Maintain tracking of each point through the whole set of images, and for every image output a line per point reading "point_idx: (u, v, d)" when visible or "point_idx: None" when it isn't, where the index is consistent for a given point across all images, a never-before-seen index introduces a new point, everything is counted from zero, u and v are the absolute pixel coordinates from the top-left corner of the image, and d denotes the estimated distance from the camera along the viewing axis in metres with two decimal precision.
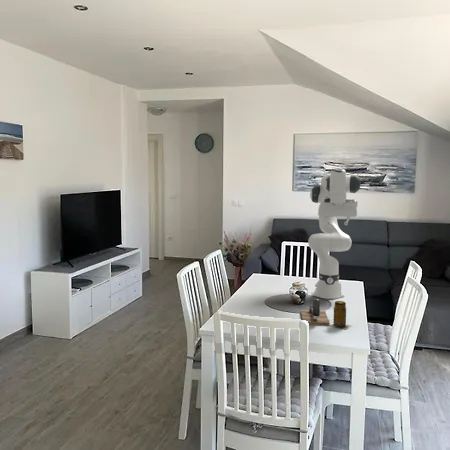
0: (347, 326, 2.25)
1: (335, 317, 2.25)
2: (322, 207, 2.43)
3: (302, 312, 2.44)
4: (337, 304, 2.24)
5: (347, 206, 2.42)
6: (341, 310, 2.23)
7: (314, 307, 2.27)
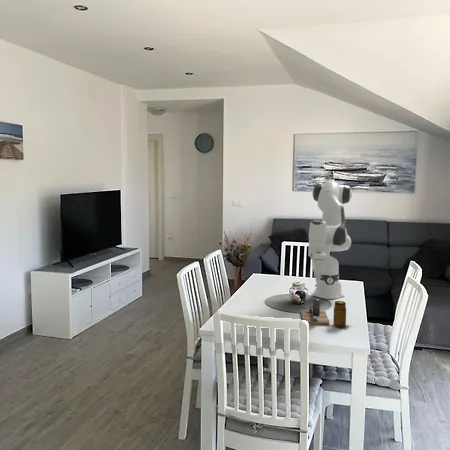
0: (347, 326, 2.25)
1: (335, 317, 2.25)
2: None
3: (302, 312, 2.44)
4: (337, 304, 2.24)
5: None
6: (341, 310, 2.23)
7: (314, 307, 2.27)
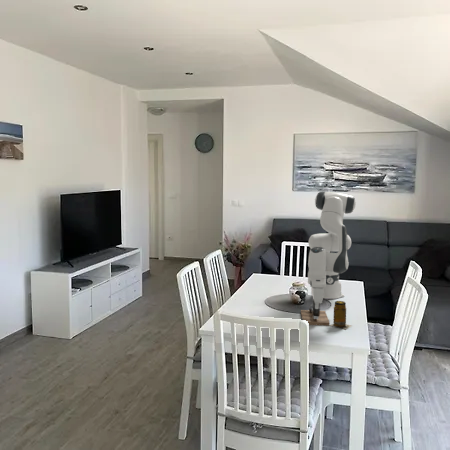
0: (347, 326, 2.25)
1: (335, 317, 2.25)
2: None
3: (302, 312, 2.44)
4: (337, 304, 2.24)
5: None
6: (341, 310, 2.23)
7: (314, 307, 2.27)
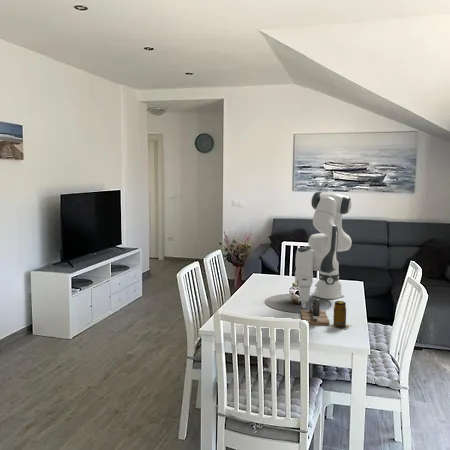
0: (347, 326, 2.25)
1: (335, 317, 2.25)
2: None
3: (302, 312, 2.44)
4: (337, 304, 2.24)
5: None
6: (341, 310, 2.23)
7: (314, 307, 2.27)
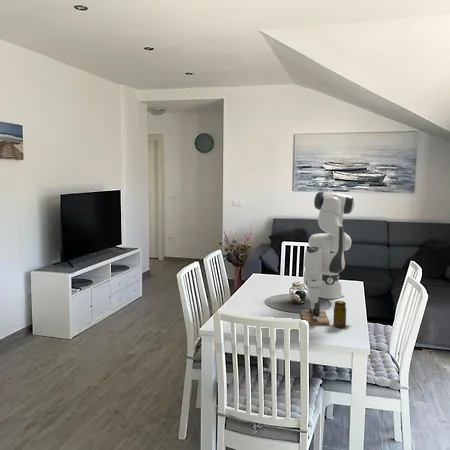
0: (347, 326, 2.25)
1: (335, 317, 2.25)
2: None
3: (302, 312, 2.44)
4: (337, 304, 2.24)
5: None
6: (341, 310, 2.23)
7: (314, 307, 2.27)
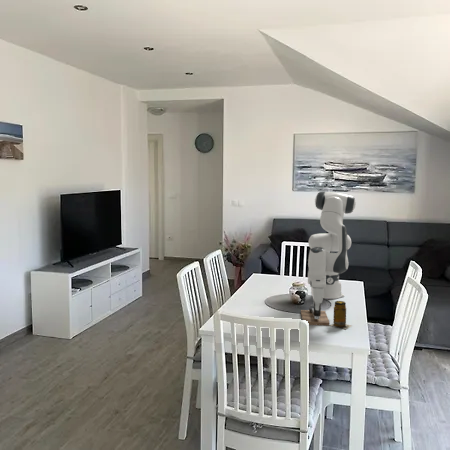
0: (347, 326, 2.25)
1: (335, 317, 2.26)
2: None
3: (302, 312, 2.44)
4: (337, 304, 2.24)
5: None
6: (341, 310, 2.23)
7: None
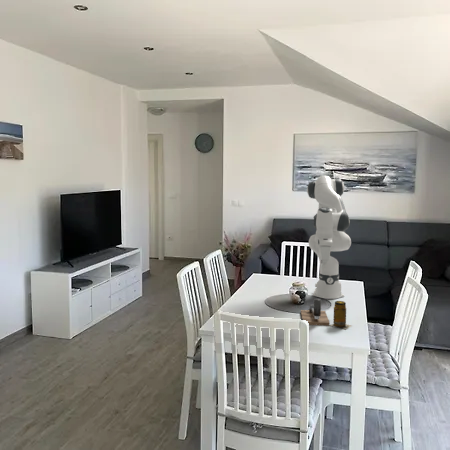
0: (347, 326, 2.25)
1: (335, 317, 2.25)
2: None
3: (302, 312, 2.44)
4: (337, 304, 2.24)
5: None
6: (341, 310, 2.23)
7: (315, 307, 2.27)
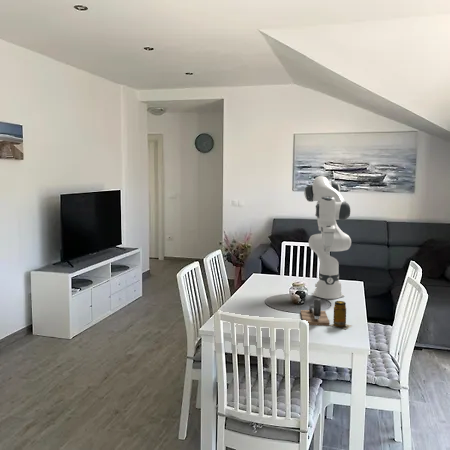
0: (347, 326, 2.25)
1: (335, 317, 2.25)
2: None
3: (302, 312, 2.44)
4: (337, 304, 2.24)
5: None
6: (341, 310, 2.23)
7: (315, 307, 2.27)
